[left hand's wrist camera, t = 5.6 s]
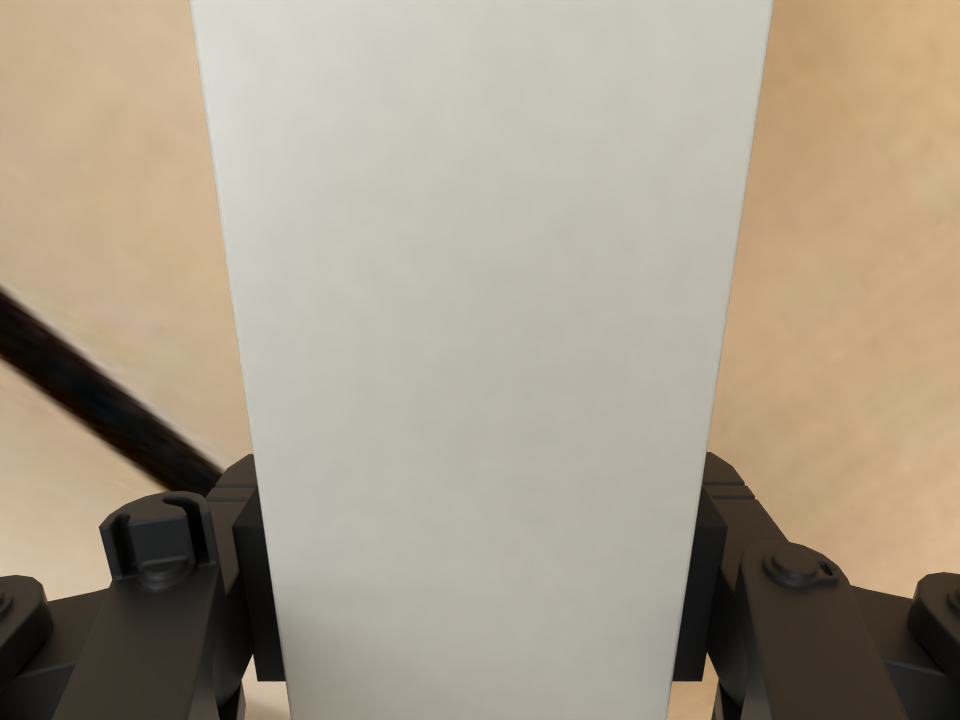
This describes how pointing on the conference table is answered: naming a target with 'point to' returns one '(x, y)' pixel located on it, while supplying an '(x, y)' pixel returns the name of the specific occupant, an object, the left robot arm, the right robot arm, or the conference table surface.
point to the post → (480, 333)
